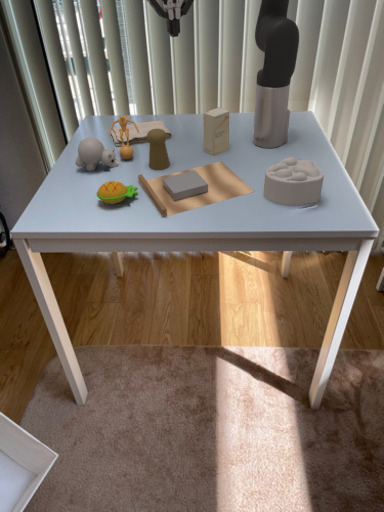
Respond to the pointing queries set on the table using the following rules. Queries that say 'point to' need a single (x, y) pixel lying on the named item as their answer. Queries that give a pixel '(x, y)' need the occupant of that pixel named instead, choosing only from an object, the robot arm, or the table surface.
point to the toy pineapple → (115, 192)
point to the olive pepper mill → (158, 150)
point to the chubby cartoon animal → (94, 155)
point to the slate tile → (185, 185)
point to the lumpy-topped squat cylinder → (293, 182)
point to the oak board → (219, 189)
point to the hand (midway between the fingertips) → (174, 36)
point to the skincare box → (216, 131)
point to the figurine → (126, 150)
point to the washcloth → (138, 137)
